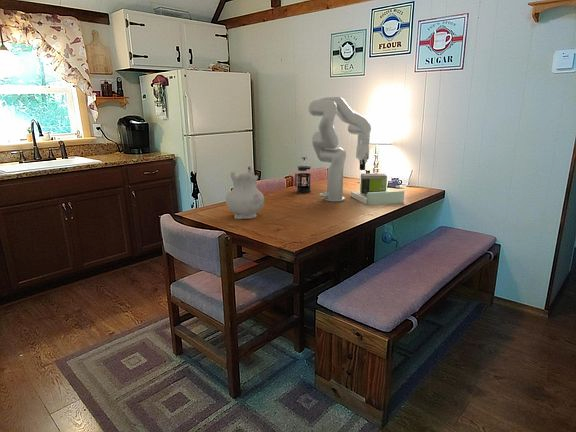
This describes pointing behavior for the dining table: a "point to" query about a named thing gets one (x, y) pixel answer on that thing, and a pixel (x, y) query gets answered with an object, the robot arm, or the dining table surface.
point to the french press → (303, 188)
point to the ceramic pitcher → (245, 196)
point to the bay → (380, 197)
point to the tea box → (372, 183)
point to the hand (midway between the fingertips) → (362, 169)
